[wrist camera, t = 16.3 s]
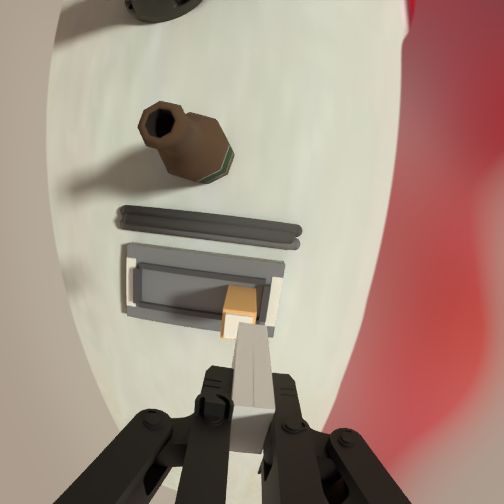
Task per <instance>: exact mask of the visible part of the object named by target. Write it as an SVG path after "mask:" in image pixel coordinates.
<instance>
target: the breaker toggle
mask: <svg viewBox="0 0 504 504" xmlns="http://www.w3.org/2000/svg"><path fill="white" fill-rule="evenodd" d="M256 315H257V303H256V288H250V287H242V286H234V285H229V286H228V290H227V295H226V299H225V303H224V307H223V315H222V325H221V335H220V338H225V339H233V340H236V338H237V332H238V325H239V322H243V323H250V324H255V322H256Z"/></svg>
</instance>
